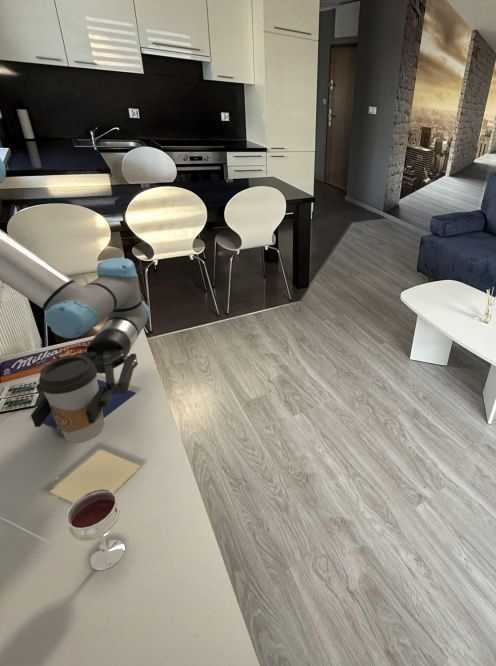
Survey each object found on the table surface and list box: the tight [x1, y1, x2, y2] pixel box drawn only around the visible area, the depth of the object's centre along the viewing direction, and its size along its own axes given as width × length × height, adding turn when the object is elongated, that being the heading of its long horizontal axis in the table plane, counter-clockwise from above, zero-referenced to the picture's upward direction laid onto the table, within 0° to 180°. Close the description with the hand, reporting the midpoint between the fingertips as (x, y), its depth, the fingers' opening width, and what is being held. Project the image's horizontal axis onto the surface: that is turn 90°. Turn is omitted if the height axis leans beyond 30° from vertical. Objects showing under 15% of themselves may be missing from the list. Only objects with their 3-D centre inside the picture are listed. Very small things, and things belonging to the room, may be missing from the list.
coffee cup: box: [38, 354, 105, 444], centre depth 72 cm, size 8×8×15 cm
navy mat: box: [42, 378, 137, 430], centre depth 96 cm, size 13×16×1 cm
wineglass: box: [65, 489, 125, 571], centre depth 64 cm, size 7×7×12 cm
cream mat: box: [49, 449, 142, 504], centre depth 79 cm, size 11×11×1 cm
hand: (63, 419), depth 68 cm, fingers closed on coffee cup, 8 cm apart
